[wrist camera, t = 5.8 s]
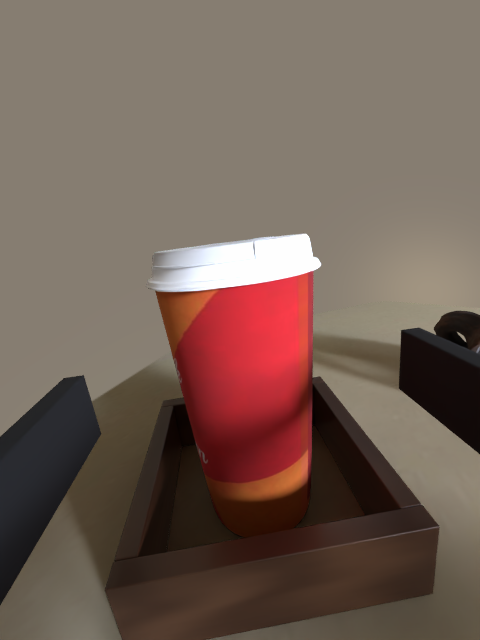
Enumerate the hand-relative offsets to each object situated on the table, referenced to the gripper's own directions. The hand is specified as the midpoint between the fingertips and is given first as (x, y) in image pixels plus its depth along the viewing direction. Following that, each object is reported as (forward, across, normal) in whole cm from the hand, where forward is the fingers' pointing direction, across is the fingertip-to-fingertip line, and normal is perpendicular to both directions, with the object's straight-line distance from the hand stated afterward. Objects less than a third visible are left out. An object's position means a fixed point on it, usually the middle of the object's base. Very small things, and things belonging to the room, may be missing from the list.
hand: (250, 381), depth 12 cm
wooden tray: (+2, 0, -8) cm, 9 cm away
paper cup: (+2, 0, -9) cm, 9 cm away
